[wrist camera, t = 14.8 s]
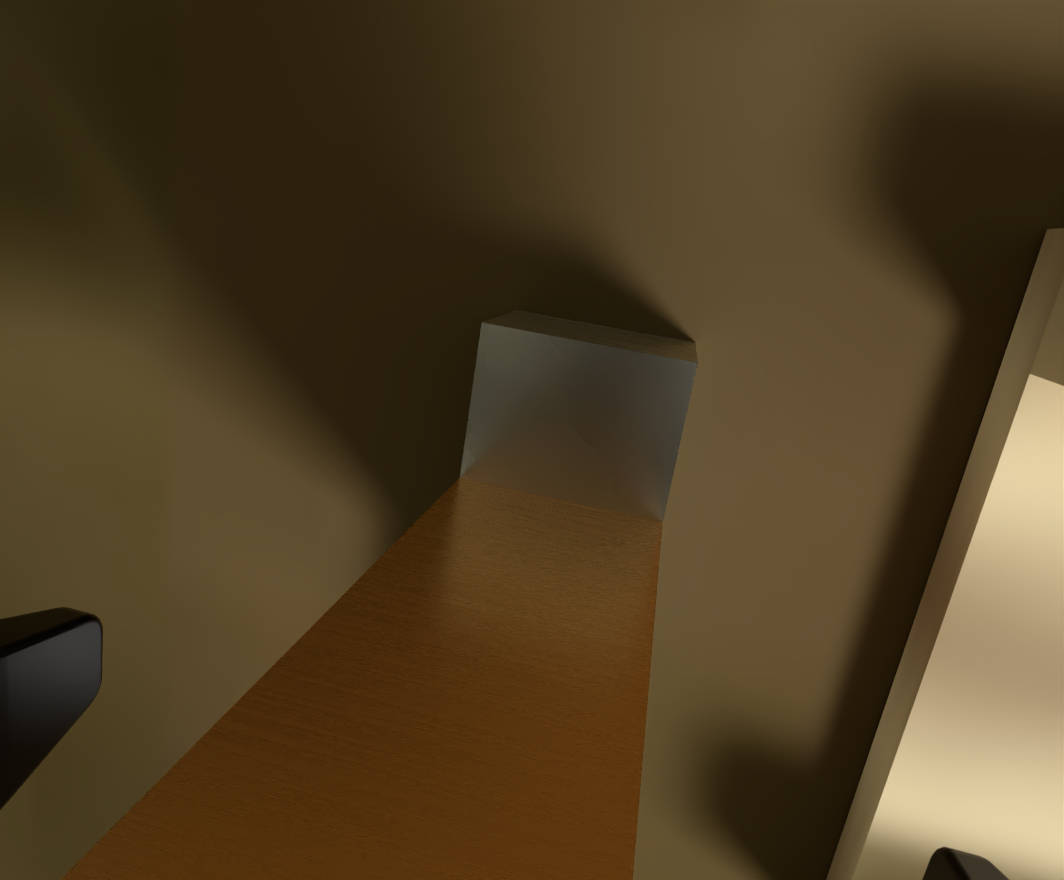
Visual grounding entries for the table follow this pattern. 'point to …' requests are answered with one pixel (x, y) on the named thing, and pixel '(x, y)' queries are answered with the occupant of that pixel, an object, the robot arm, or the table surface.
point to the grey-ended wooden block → (462, 655)
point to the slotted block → (984, 643)
